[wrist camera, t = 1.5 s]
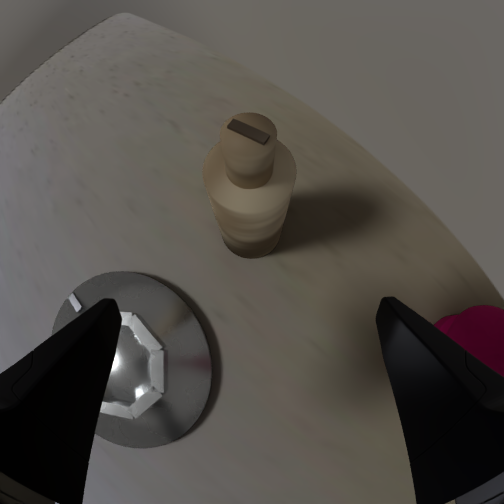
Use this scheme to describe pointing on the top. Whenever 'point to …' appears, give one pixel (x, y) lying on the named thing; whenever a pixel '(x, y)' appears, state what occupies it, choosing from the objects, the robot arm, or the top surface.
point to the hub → (147, 360)
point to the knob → (249, 184)
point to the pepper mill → (478, 333)
